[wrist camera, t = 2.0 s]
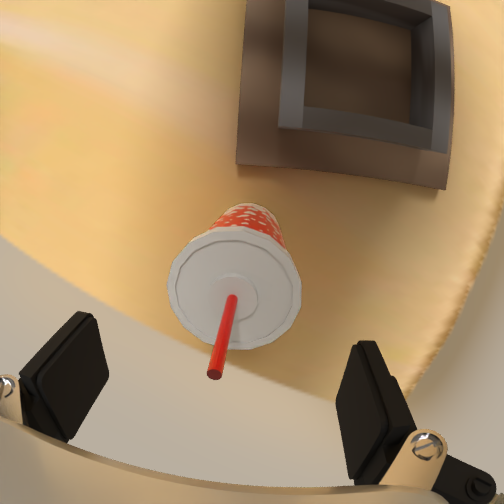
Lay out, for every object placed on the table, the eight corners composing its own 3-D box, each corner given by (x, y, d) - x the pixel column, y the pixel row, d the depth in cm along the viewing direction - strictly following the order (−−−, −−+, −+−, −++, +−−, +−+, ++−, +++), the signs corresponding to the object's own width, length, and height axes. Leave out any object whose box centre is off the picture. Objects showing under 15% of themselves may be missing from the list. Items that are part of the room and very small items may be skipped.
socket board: (251, -29, 15) (246, -60, 11) (444, 10, 14) (472, -8, 10) (237, 162, 20) (228, 169, 16) (439, 188, 20) (471, 201, 15)
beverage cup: (210, 185, 21) (115, 268, 8) (298, 199, 21) (340, 306, 8) (201, 266, 23) (131, 410, 10) (282, 280, 23) (289, 439, 10)
